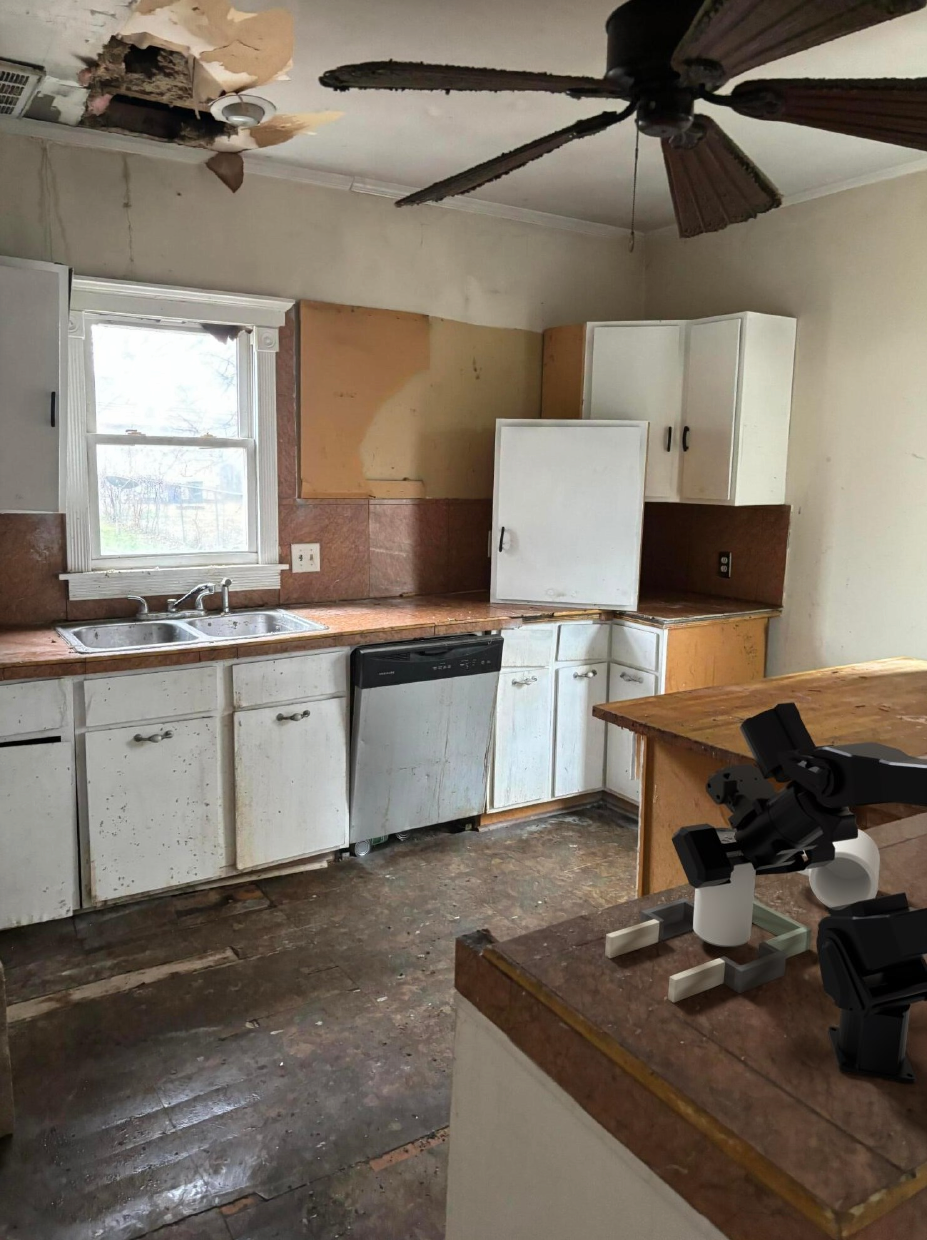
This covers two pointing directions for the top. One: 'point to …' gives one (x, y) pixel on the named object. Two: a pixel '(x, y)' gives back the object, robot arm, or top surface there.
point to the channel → (767, 967)
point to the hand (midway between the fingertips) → (717, 875)
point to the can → (726, 904)
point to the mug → (847, 873)
